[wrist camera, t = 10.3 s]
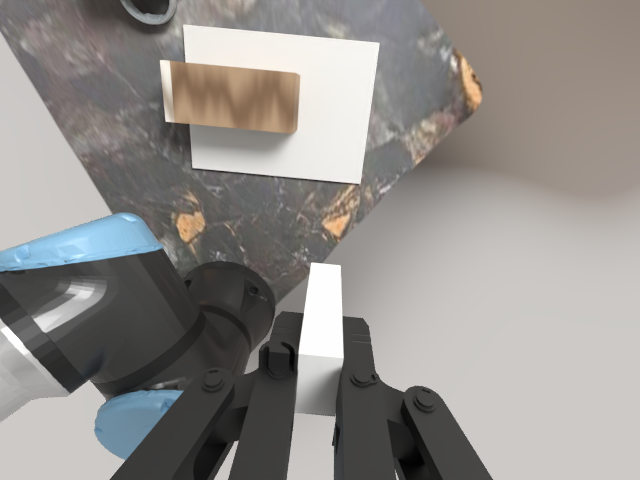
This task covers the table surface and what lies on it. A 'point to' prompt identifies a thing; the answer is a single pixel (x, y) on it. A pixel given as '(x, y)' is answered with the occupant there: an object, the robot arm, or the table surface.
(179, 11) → the table surface
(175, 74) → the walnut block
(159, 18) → the ceramic mug
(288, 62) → the white mat
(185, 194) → the table surface
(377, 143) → the table surface
